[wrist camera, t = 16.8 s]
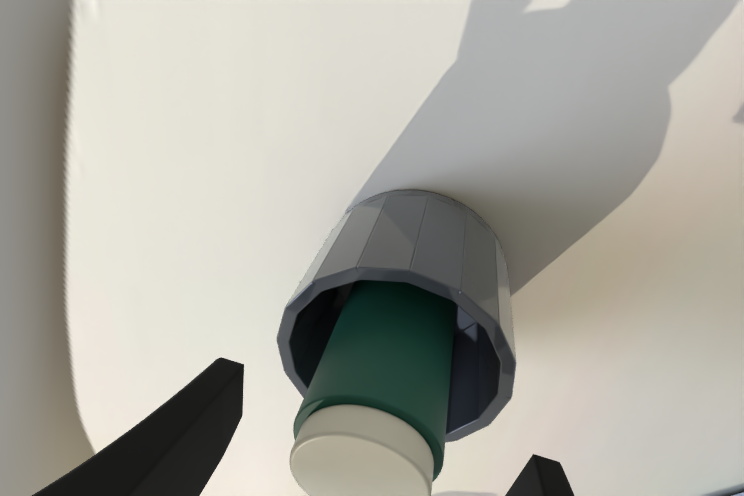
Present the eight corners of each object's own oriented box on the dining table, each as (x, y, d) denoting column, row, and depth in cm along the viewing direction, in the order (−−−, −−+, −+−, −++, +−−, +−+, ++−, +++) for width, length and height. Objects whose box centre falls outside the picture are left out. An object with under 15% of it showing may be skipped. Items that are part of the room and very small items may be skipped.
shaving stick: (479, 281, 16) (477, 502, 9) (410, 329, 17) (366, 543, 11) (406, 215, 15) (345, 403, 8) (343, 272, 17) (250, 464, 10)
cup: (546, 279, 16) (570, 387, 11) (416, 363, 19) (397, 469, 15) (409, 149, 14) (378, 217, 10) (295, 265, 18) (237, 351, 14)
